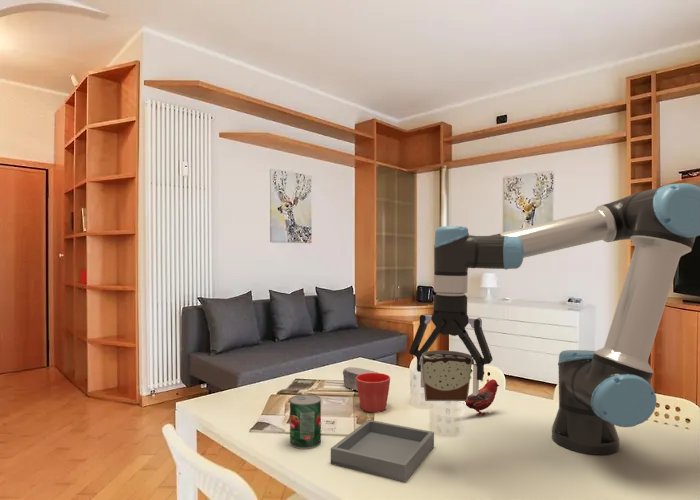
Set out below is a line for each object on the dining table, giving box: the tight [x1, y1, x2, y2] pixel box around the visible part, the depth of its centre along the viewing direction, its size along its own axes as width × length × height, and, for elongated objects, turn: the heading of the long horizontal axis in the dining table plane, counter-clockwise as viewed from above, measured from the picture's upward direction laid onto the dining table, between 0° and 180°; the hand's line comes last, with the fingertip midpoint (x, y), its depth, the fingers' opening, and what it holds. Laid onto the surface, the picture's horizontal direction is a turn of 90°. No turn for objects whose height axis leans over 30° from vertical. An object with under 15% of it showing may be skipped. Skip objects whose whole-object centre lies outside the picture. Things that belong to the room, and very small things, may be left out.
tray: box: [330, 419, 435, 483], centre depth 107 cm, size 18×20×4 cm
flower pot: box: [356, 372, 391, 413], centre depth 139 cm, size 11×11×10 cm
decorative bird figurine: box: [465, 379, 500, 416], centre depth 132 cm, size 3×18×10 cm, turn 115°
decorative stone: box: [342, 366, 379, 392], centre depth 158 cm, size 15×7×10 cm
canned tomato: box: [289, 393, 322, 450], centre depth 114 cm, size 8×8×11 cm
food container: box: [419, 350, 475, 402], centre depth 103 cm, size 12×6×10 cm, turn 92°
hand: (449, 389), depth 102 cm, fingers closed on food container, 11 cm apart
